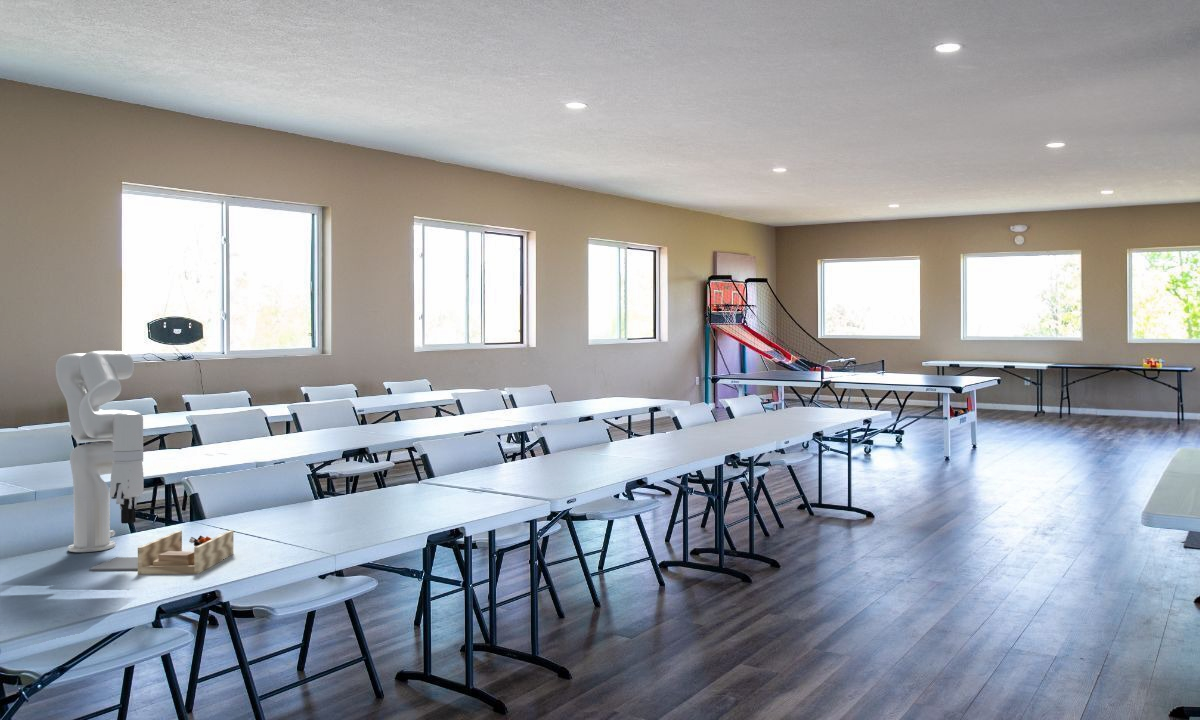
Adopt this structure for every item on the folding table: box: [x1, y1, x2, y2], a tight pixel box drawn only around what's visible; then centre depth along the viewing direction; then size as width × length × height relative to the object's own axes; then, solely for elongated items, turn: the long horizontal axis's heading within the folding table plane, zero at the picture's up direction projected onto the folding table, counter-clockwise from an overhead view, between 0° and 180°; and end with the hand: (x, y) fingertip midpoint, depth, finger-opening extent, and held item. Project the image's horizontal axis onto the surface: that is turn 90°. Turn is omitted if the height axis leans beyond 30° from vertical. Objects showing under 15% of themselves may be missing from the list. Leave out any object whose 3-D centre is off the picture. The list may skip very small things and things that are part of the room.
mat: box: [88, 556, 138, 572], centre depth 251 cm, size 14×14×1 cm
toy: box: [188, 535, 212, 547], centre depth 264 cm, size 8×6×15 cm
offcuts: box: [153, 550, 194, 566], centre depth 245 cm, size 6×10×4 cm, turn 91°
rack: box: [137, 530, 234, 575], centre depth 252 cm, size 24×16×7 cm, turn 1°
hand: (128, 522), depth 251 cm, fingers closed
